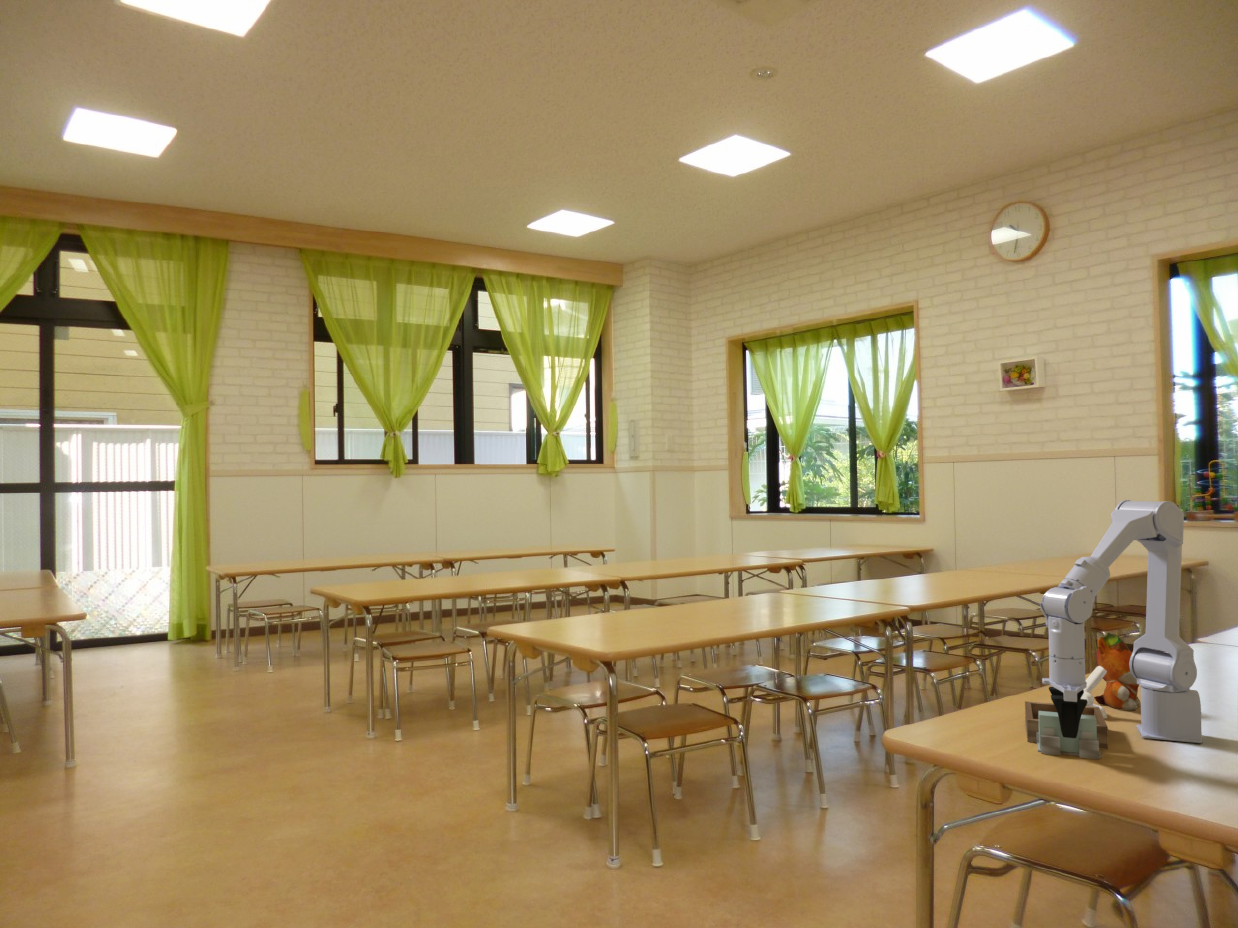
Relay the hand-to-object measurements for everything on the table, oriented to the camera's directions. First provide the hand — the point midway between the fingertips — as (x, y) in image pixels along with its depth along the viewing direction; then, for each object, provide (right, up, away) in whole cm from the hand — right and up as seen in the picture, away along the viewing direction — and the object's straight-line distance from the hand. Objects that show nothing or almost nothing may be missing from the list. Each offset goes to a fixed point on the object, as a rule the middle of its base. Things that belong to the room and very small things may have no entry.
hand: (1068, 732), depth 157 cm
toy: (+26, -3, +30) cm, 39 cm away
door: (0, -3, 0) cm, 3 cm away
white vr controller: (+15, -4, +23) cm, 28 cm away
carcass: (+3, -3, +6) cm, 8 cm away
